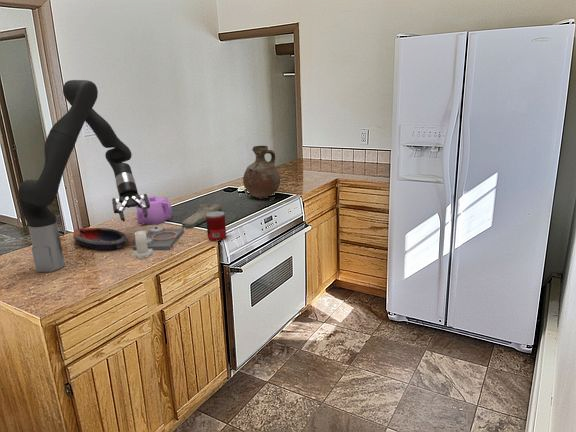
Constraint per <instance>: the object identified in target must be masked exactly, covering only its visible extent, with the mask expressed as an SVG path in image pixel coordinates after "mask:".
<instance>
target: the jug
mask: <svg viewBox="0 0 576 432" xmlns="http://www.w3.org/2000/svg"><path fill="white" fill-rule="evenodd" d="M251 151H253V153H254V154H255V155H254V156H255V161H254V162H253V163H251V164H249V165H248V166H247V167H246V169H245V171H244V175H243V178H242V183H243V186H244V188H245V190H246V191H247V192H248V194H249V195H251V196H252V197H254V198H255V197H256V198H265V197H268V196H270V195H271V196H273V195H274V194H275V193H276V192H277V191H278V189H279V188H280V186H281V185H280V184H281V176H280V172H279V171H278V168H277V167H276V165H275V162H276V154H275V151H274V150H272V149H269V146H267V145H254V146H253V147H252V149H251ZM266 154H270V155H271V158H270V161H267V160H266V158H265V157H266V156H265V155H266ZM272 194H273V195H272ZM256 198H255V199H256Z"/></svg>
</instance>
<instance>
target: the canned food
mask: <svg viewBox="0 0 576 432" xmlns="http://www.w3.org/2000/svg"><path fill="white" fill-rule="evenodd" d="M205 222H206V230H207V239H208V240H210V241H222V240H225V239H226V237H227V227H226V215H225V212H224V211H220V210H219V211H215V212H209V213H207V214H206V221H205Z"/></svg>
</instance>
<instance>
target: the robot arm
mask: <svg viewBox="0 0 576 432" xmlns="http://www.w3.org/2000/svg"><path fill="white" fill-rule="evenodd" d="M98 91H99V90H98V87H97V85H96V84H95V82H93V81H92V80H88V79H86V80H85V79H72V80H67V81H65V82H64V84H63V87H62V93H63V96H64V98H65V100H66V101H67V103H68V104H69V105H70V108H69V110H68V111H67V112H66V113H65V114H64V115H63V116H62V117H60V118H59V119H58V120H57V122H55V123H54V124H53V125H52V127H51V128H50V130H49V133H48V135H47V137H46V139H45V141H44V145H43V148H44V149H43V150H44V151H43V152H44V167H43V169H42V171H41V174H40V175H39V178H38V179H26V180H23V181H22V182H21V183H20V185H19V186H18V190H17V191H18V192H17V194H18V201H19V205H20V209H21V212H22V215H23V218H24V219H25V221H26V223H27V227H28V232H29V236H30V240H31V246H32V247H31V253H32V257H33V262H34V267H35V271H36V273H53V272H55V271H57V270H60V269H62V268H64V267H65V266H66V262H65V258H64V253H63V247H62V241H61V237H60V231H59V226H58V222H57V221H58V220H57V216H56V214H55V213H54V212H53V211H51V210H50V208H49V207H48V206H50V205H51V204H52V203H53V202H54V201H55V200H56V197H57V195H58V191H59V188H60V185H61V181H62V177H63V174H64V172H65V170H66V166H67V165H68V161H69V158H70V156H71V155H72V153H73V150H74V148H75V145H76V144H77V140H78V138H79V135H80V133H81V131H82V128H83V126H84V124H85V123H86V124H87V125H88V126H89V127H90V129H91V130H92V132H93V133H94V134H95V135H94V136H96V138H97V140H98V141H99V142H100V144H101V145H102V147H103V148H107V149H108V150H107V151H105V155H104V156H105V160H106V161H107V162H108V164H109V165H110V166H111V169H112V171H113V174H114V178H115V186H116V189H117V193H118V196H119V198H115V197H113V198H112V199H111V201H112V202H111V203H112V208H113V209H112V210H113V213H114V214H119V218H120V221H122V222H125V220H126V219H125V214H124V211H125V210H126V208H136V206H137V207H139V208H141V209H142V210H143V214H144V218H146V217H147V215H148V213H147V209H149V208H150V202H149V200H148V198H149V197H148V195H147V193H144V194H143V195H140V194H139V192H138V187H137V185H136V181H135V178H134V175H133V172H132V168H131V165H130V164H128V163H126V162H128V161H130V160H132V159H131V158H132V157H133V156H132V155H133V154H132V150H131V149H130V147H128V146H127V144H125V143H124V142H123V141H122V140H121V139H120V138H119V137H118V136H117V134H116V132H115V131H114V129H113V128H112V126H111V125H110V123H108V121H107V120H106V119H105V118H103V117H102V116H101V115H100V114H99V113H98V112H97V111H96V110H95V109H94V108H93V107H94V106H95V104H96V102H97V99H98V95H99V92H98ZM141 201H145V204H146V205H144V204H143V203H142V202H141ZM119 203H120V204H121V205H120V207H119V208H117V205H118V204H119Z"/></svg>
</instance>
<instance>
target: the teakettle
mask: <svg viewBox="0 0 576 432" xmlns="http://www.w3.org/2000/svg"><path fill="white" fill-rule="evenodd" d="M148 200H149V202H150V208H149V209H147V213H148V215H147V217H146V218H144V214H143V210H142V209H141V208H139V207H137V206H136V207H135V208H136V219H137V220H136V221H137V223H138V224H140V223H144V224H143V225H150V224H157V225H160V224H162V223H164V221H165V222H167V221H168V220H170V219H171V217H172V214H173V211H172V204H171V202H170V201H169V200H168V197H165V196H164V197H157V196H154V195H152V196H149V197H148ZM140 201H141V202H142V203H143V204H144V205H146V204H145V201H143V200H140ZM166 220H167V221H166ZM161 222H162V223H161ZM159 223H160V224H159Z"/></svg>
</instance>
